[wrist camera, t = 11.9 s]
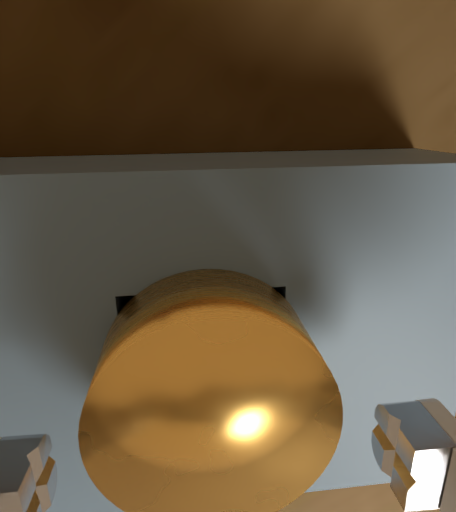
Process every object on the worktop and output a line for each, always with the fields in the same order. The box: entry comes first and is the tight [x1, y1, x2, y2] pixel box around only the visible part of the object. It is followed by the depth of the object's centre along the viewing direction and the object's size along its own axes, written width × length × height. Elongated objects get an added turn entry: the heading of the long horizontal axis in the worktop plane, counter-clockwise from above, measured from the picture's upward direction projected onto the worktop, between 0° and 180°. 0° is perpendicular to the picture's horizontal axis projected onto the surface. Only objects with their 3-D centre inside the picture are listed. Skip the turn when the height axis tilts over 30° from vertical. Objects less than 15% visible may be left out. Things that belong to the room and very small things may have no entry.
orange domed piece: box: [78, 269, 343, 512], centre depth 13 cm, size 6×6×8 cm
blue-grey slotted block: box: [0, 148, 456, 512], centre depth 15 cm, size 12×18×5 cm, turn 91°
